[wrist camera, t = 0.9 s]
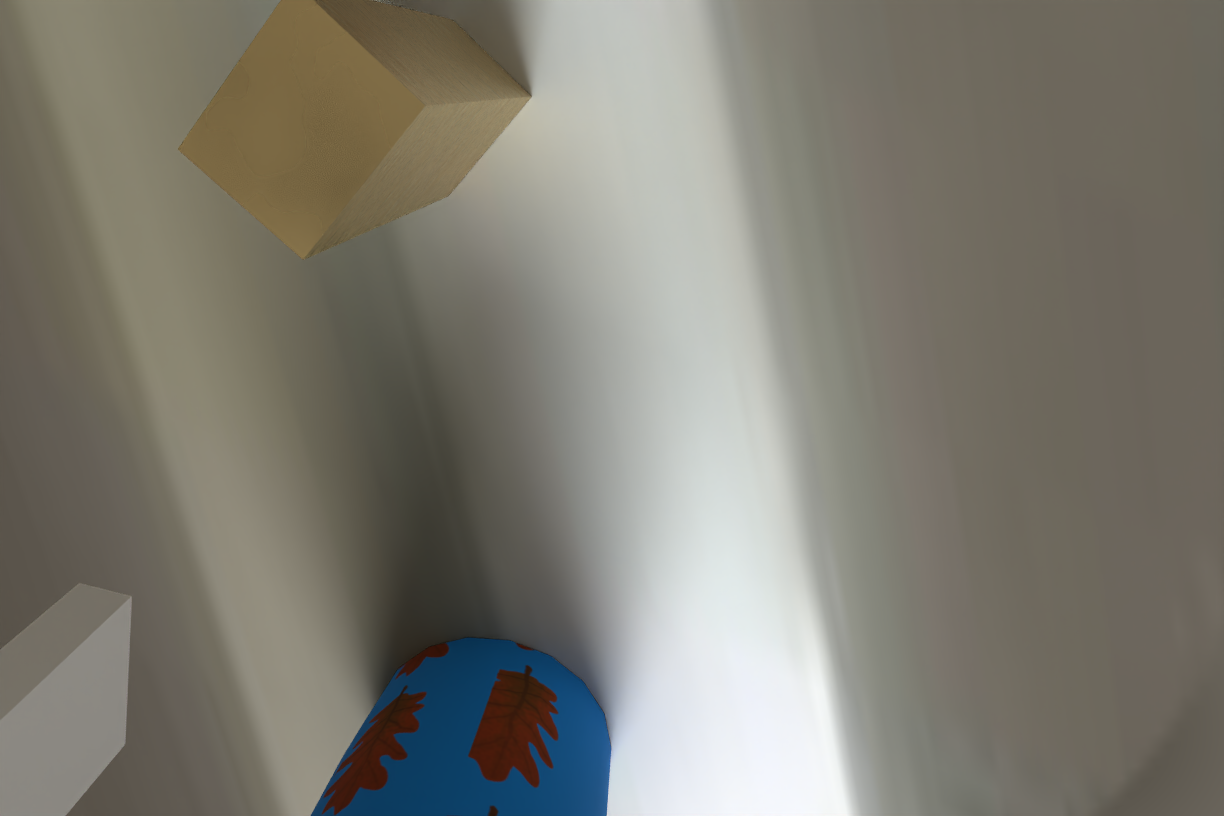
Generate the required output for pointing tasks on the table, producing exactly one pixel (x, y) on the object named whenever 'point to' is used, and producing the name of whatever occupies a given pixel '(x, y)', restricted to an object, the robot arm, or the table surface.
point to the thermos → (476, 739)
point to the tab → (350, 118)
